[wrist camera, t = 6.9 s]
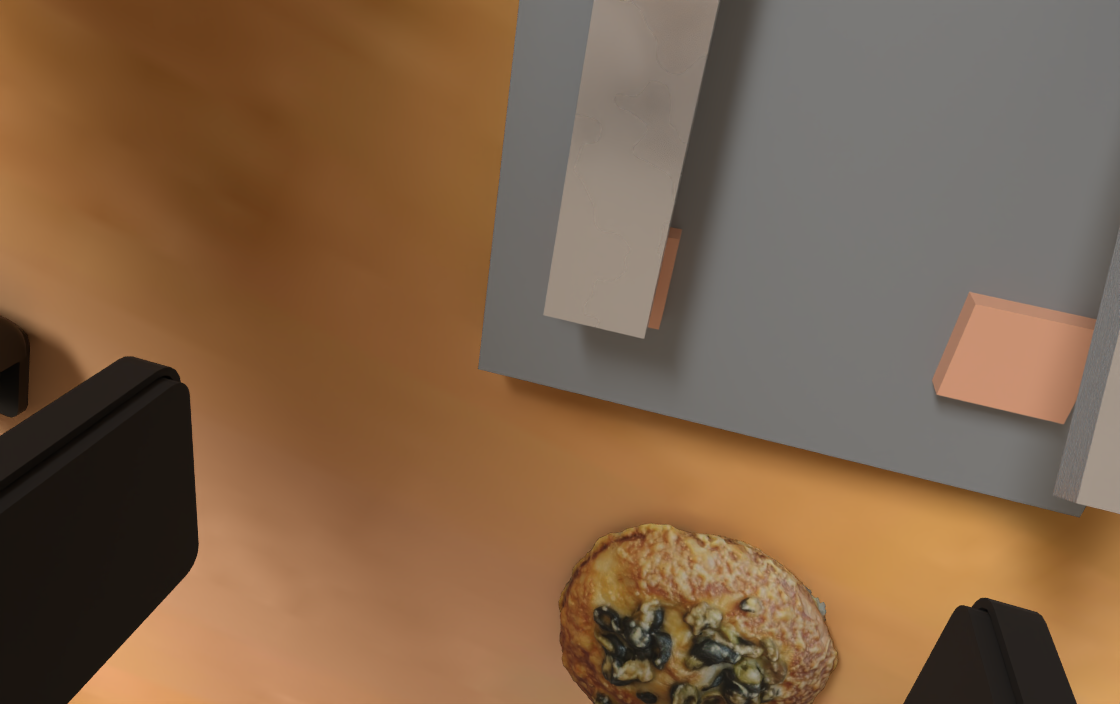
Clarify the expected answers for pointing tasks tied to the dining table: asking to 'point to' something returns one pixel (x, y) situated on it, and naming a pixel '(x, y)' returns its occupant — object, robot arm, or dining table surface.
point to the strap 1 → (627, 158)
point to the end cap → (13, 368)
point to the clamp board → (847, 232)
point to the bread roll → (691, 623)
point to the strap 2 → (1097, 412)
